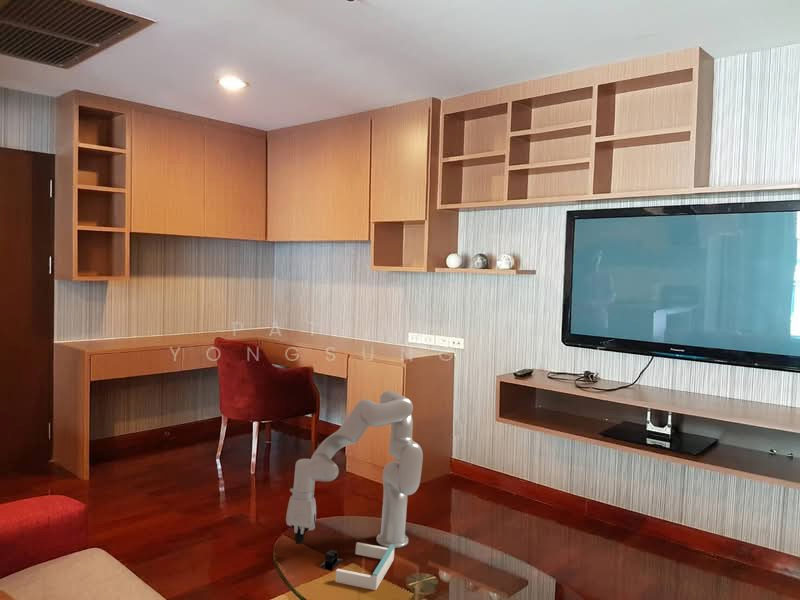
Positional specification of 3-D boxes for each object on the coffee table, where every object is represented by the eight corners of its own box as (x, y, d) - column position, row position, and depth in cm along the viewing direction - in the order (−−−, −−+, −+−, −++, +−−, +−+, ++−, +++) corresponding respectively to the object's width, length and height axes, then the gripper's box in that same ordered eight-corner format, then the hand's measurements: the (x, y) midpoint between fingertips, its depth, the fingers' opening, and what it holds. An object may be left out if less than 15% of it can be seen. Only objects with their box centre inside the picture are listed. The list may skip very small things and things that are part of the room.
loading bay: (356, 552, 234) (357, 538, 233) (393, 559, 230) (394, 545, 230) (335, 581, 212) (336, 566, 211) (376, 590, 208) (377, 574, 208)
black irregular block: (331, 575, 217) (332, 562, 217) (313, 570, 220) (314, 557, 219) (347, 559, 229) (347, 547, 228) (329, 555, 231) (330, 543, 231)
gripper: (280, 493, 224) (276, 543, 225) (318, 501, 220) (314, 551, 221) (288, 486, 231) (284, 535, 232) (326, 494, 227) (322, 542, 228)
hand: (299, 542), depth 226 cm, fingers closed
